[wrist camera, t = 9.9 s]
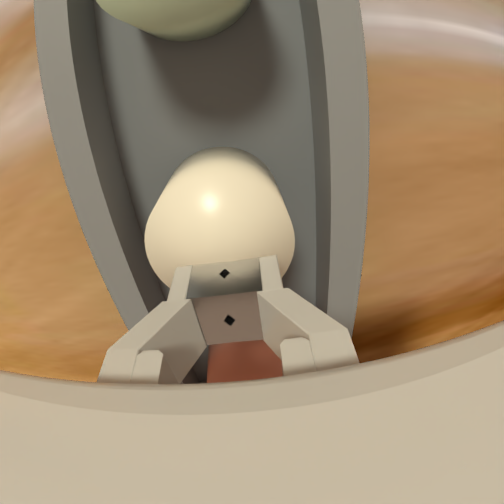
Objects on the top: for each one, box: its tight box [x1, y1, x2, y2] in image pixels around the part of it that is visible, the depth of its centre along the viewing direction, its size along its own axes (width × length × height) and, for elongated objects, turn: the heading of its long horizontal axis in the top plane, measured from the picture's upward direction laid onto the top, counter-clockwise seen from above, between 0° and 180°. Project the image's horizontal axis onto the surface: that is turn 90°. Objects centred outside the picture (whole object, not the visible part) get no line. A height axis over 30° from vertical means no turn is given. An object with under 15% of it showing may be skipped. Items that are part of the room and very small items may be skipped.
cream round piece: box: [144, 147, 295, 288], centre depth 12 cm, size 5×5×4 cm
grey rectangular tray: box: [34, 0, 369, 384], centre depth 13 cm, size 12×32×4 cm, turn 7°
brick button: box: [207, 340, 282, 383], centre depth 17 cm, size 5×5×4 cm
